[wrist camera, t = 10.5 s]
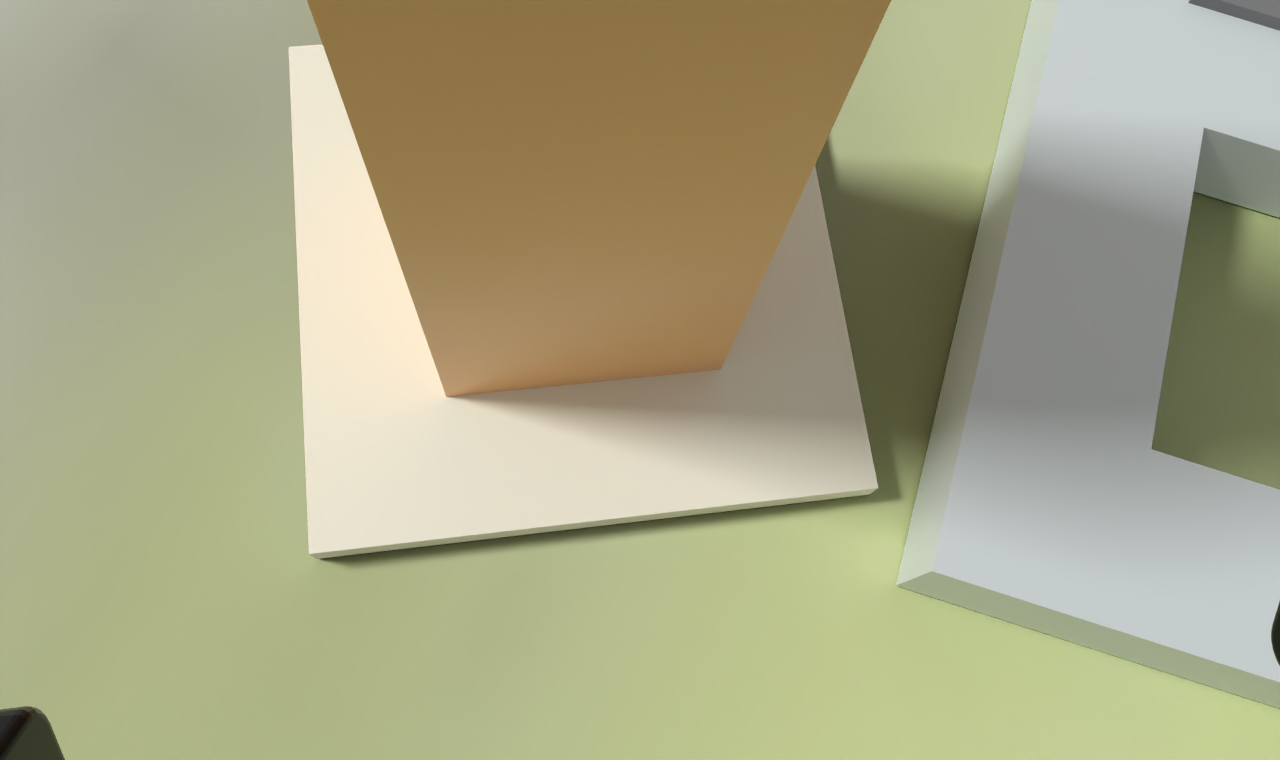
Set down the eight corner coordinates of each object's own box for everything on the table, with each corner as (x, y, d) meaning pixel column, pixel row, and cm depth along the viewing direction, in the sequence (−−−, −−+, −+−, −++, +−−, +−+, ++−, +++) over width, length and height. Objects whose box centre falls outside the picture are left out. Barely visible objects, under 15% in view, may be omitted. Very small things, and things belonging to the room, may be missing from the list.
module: (720, 369, 20) (985, -207, 8) (445, 396, 19) (246, -175, 7) (683, 129, 21) (855, -687, 9) (427, 148, 21) (233, -688, 8)
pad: (868, 494, 20) (878, 488, 19) (316, 559, 19) (308, 553, 18) (780, 31, 23) (785, 13, 22) (295, 64, 22) (288, 46, 21)
